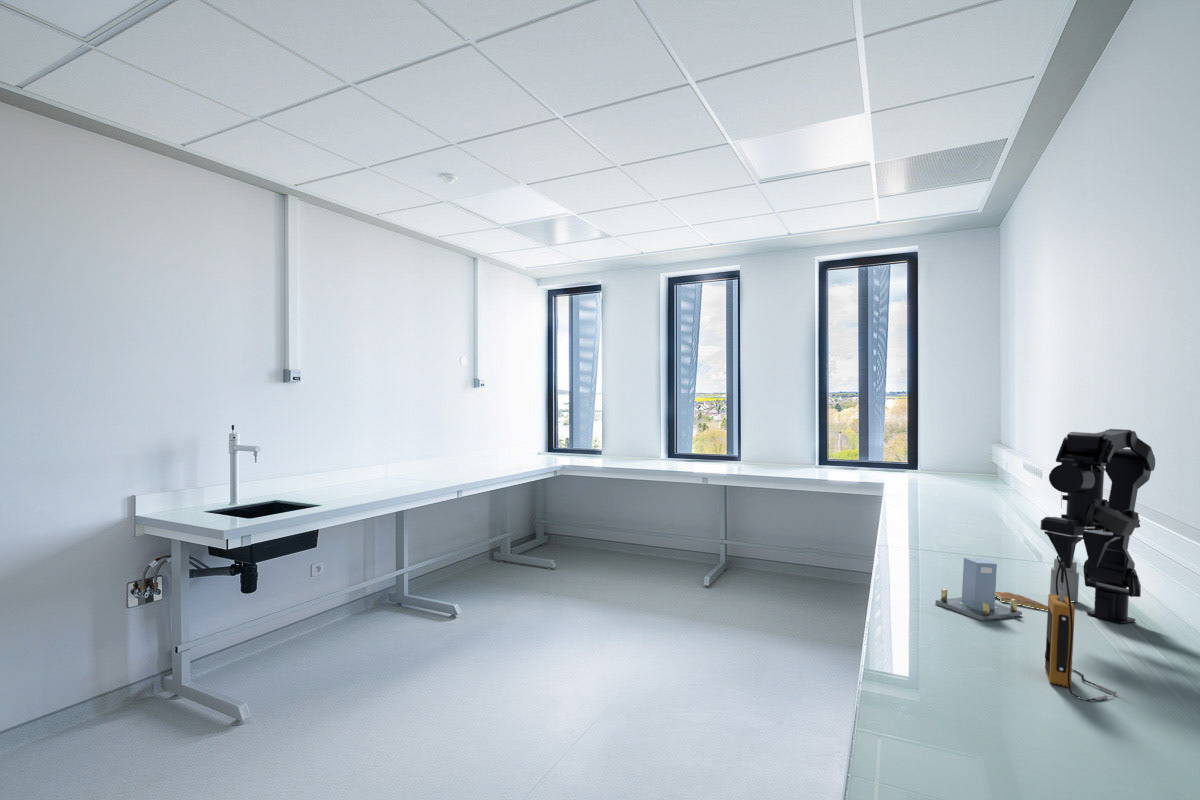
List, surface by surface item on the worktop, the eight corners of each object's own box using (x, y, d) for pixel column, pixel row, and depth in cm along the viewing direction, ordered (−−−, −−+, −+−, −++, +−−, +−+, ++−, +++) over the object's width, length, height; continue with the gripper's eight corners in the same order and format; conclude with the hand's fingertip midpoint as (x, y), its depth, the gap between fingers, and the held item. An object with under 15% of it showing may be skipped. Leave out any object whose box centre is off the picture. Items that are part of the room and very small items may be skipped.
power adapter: (1077, 603, 142) (1080, 554, 142) (1049, 598, 145) (1051, 549, 146) (1077, 600, 144) (1080, 552, 145) (1050, 595, 148) (1052, 547, 148)
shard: (1054, 615, 133) (1055, 607, 133) (1023, 614, 132) (1024, 606, 132) (1015, 599, 144) (1016, 592, 144) (987, 598, 143) (987, 591, 143)
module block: (981, 602, 134) (983, 558, 134) (994, 609, 130) (996, 564, 130) (961, 601, 134) (963, 557, 134) (974, 608, 130) (976, 562, 130)
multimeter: (1137, 714, 86) (1143, 578, 87) (1052, 693, 92) (1058, 565, 92) (1115, 678, 99) (1121, 559, 99) (1041, 661, 104) (1047, 549, 104)
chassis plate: (972, 600, 139) (973, 585, 139) (1021, 616, 129) (1022, 600, 129) (935, 604, 134) (936, 589, 134) (983, 621, 124) (984, 605, 124)
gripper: (1104, 498, 112) (1099, 580, 111) (1158, 499, 119) (1154, 576, 118) (1040, 489, 122) (1036, 564, 122) (1094, 491, 129) (1090, 562, 129)
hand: (1080, 567), depth 122 cm, fingers open, 9 cm apart
